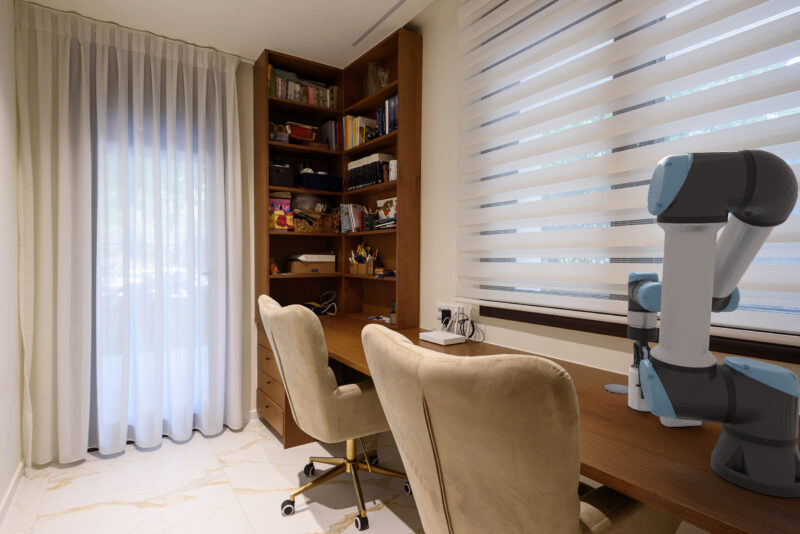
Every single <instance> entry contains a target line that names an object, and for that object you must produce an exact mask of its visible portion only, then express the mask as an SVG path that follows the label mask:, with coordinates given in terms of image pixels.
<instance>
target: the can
mask: <svg viewBox="0 0 800 534" xmlns="http://www.w3.org/2000/svg"><path fill="white" fill-rule="evenodd" d="M636 384H639V377H638V364H633V363H632V364H631V365H630V368H629V369H628V385H627V386H628V394H627V398H628V399H627V402H628V403H627V405H628V407H630V409H632V410H635V411H638V412H643V413H644V412H647V413H648V412H651V411H650V410H649V411H648V410H640V409H637V398H638V387H636Z"/></svg>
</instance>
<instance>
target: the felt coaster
mask: <svg viewBox="0 0 800 534" xmlns="http://www.w3.org/2000/svg"><path fill="white" fill-rule="evenodd" d="M628 386H629V385H624V384H615V383H610V384H605V385H604V386H603V387H604V388H605V389H606V390H605V389H604V388H603V389H604V390H605V391H607V390H608V391H607V392H609V391H611V392H610V393H612V392H615V393H614V394H616V393H621V394H620V395H626V394H627V395H628Z"/></svg>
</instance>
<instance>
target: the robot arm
mask: <svg viewBox="0 0 800 534" xmlns="http://www.w3.org/2000/svg"><path fill="white" fill-rule="evenodd" d="M654 168H655V169H654V171H653V173H652V176H651V179H650V181H649V186H648V187H649V188H648V192H647V201H646V202H647V212H648V213H649V214H650V215H653V216H654V217H655V216H656V225H658V227H660V228H661V229H662V230H663V232H664V239H663V240H664V244H663V259H662V260H663V261H662V263H663V264H662V279H661V281H659V275H658V273H657V272H652V271H649V272H648V271H633V272H630V273H629V274H628V280H627V317H626V318H627V319H626V320H627V321H626V322H627V324H628V325H627V326H626V327H627V334H626V335H627V336H626V337H627V338H628V340H631V341H633V342H632V343H633V347H632V349H633V362H632V365H633V364H638V377H639V384H636V387H638V398H637V409H640V410H648V411H649V410H650V411H649V412H651V414H653V415H654V416H656V417H659V418H660V417H667V418H673V419H675V420H676V419H684V420H695V421H702V422H706V423H717V424H718V423H719V424H722V426H721V433H720V435H719V437H718V439H717V441H716V443H715V445H714V447H713V450H712V452H711V455H710V456H711V457H710V468H711V469H712V470H713V472H714V473H715V474H716V475H717V476H719V477H721V478H722V479H724V480H726V482H727V481H728V482H729V483H731V484H734V485H735V486H737V487H740V488H744V489H746V490H749V491H752V492H755V493H759V494H764V495H767V496H774V497H779V498H780V497H781V498H800V450H799V445H798V443H799V419H800V383H799V382H800V380H799V378H798V375H797V374H796V373H795V372H793V371H792V370H791V369H788V368H786V367H783V366H779V365H777V364H773V363H769V362H766V361H762V360H758V359H754V358H748V357H743V356H742V357H741V356H733V355H732V356H725V357H724V359H723V360H722V364H718V359H717V357H716V356H714V355H713V353H712V352H711V351H710V350H709V348H710V333H711V332H710V331H711V321H712V320H711V319H712V313H717V314H718V313H719V314H720V313H731V312H735V311H736V310H737V309H738V308H739V305H740V303H739V302H740V299H741V293H740V290H739V287H738V284H739V283H740V281H741V279H742V278H743V277H744V275H745V273H747V270H748V269H749V267H750V265H751V264H752V263H753V261H754V259H755V258H756V256H757V254H758V253H759V251H760V250H761V249H762V247H763V245H764V244H765V242H766V241H767V239H768V238H769V236H770V235H771V233H772V231H773V229H775V227H778V226H780V225H783V224H784V223H785V222H786V221H787V220H788V218H789V217H790V216H791V214H792V212H793V210H794V209H795V207H796V204H797V201H798V197H799V183H798V180H797V177H796V176H797V175H796V174H795V172H794V170H793V169H792V168H791V166H790V165H789V164H788V163H787V162H786V160H784V159H783V158H781V157H780V156H778V155H776V154H774V153H773V152H770V151H765V150H763V149H757V148H756V149H753V148H752V149H751V148H749V149H741V150H727V151H725V150H724V151H723V150H721V151H720V150H719V151H701V152H700V151H699V152H698V151H697V152H686V153H678V154H671V155H666V156H665V157H663V158H662V159H660V160H659V161H658V163H657V165H656V167H654ZM729 214H730V215H729ZM720 230H722V231H721V233H720V235H719V236H718V232H719V231H720ZM717 236H718V237H719V238H718V237H717ZM717 238H718V239H717ZM659 314H660V315H659ZM658 319H659V332H658V328H657V326H658ZM657 340H658V344H657V345H655V346H654V347H652V348H651V346H650V345H649V343H650V342H656V341H657Z"/></svg>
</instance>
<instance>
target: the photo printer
mask: <svg viewBox="0 0 800 534" xmlns="http://www.w3.org/2000/svg"><path fill="white" fill-rule="evenodd" d="M659 420H660V421H659V422H660V423H661V425H663V426H665V427H672V428H673V427H675V428H677V427H696V426H701V425H702V424H703V423H702V422H703V421H695V420H684V419H676V420H675V419H673V418H667V417H660V416H659Z"/></svg>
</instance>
